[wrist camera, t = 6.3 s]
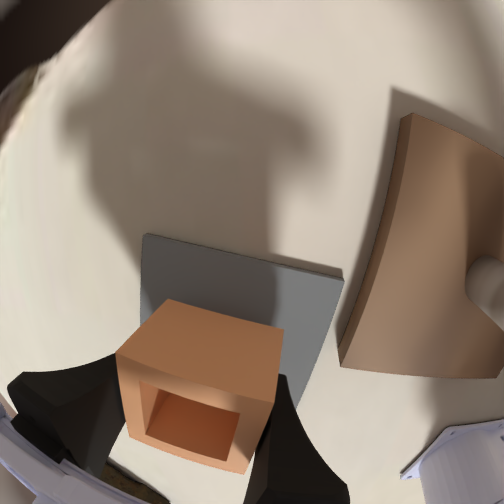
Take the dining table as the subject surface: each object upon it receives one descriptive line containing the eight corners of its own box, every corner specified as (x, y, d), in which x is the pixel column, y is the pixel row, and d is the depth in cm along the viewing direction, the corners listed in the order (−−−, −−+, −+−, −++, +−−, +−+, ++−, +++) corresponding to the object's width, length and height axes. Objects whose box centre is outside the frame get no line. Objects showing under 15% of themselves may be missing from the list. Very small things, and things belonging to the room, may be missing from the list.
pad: (343, 278, 13) (344, 281, 12) (290, 416, 16) (290, 421, 15) (146, 233, 14) (143, 235, 13) (145, 376, 17) (143, 379, 16)
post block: (547, 197, 9) (616, 217, 3) (487, 366, 13) (527, 426, 7) (400, 118, 10) (478, 82, 4) (337, 349, 14) (351, 446, 8)
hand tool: (53, 419, 24) (34, 440, 19) (59, 414, 22) (39, 437, 18) (162, 501, 26) (151, 524, 21) (177, 501, 25) (167, 526, 20)
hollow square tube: (284, 329, 12) (274, 402, 8) (259, 408, 14) (244, 474, 9) (167, 298, 12) (115, 352, 8) (164, 380, 14) (129, 436, 10)
